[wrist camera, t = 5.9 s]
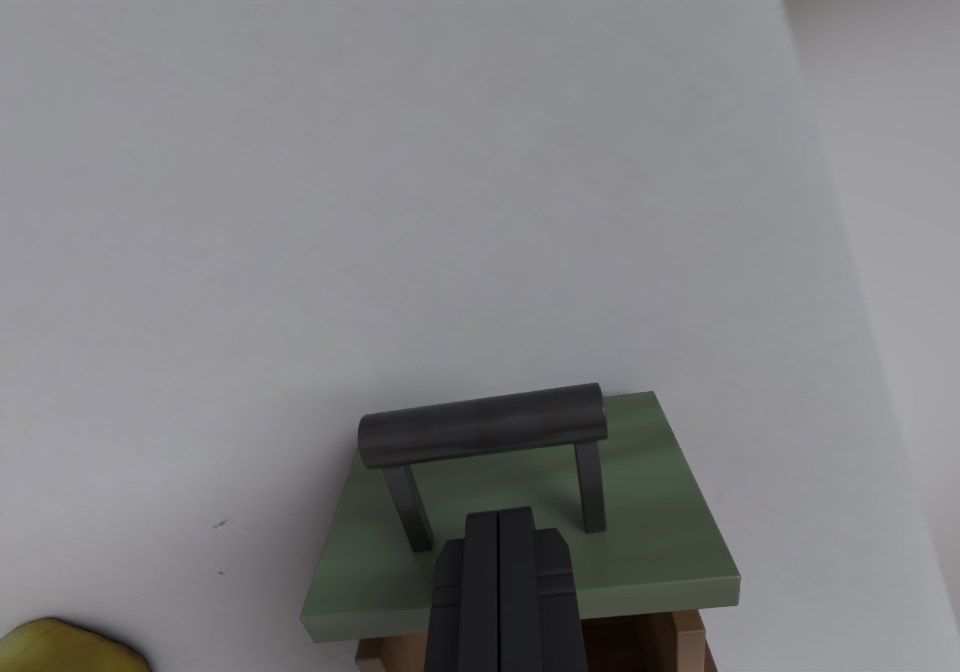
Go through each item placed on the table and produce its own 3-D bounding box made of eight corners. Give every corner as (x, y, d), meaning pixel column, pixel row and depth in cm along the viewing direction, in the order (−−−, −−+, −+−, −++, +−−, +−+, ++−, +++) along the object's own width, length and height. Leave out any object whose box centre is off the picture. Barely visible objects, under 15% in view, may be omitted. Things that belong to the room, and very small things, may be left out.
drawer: (324, 327, 18) (223, 493, 11) (650, 274, 17) (756, 425, 10) (438, 627, 27) (420, 823, 20) (660, 607, 26) (720, 809, 19)
